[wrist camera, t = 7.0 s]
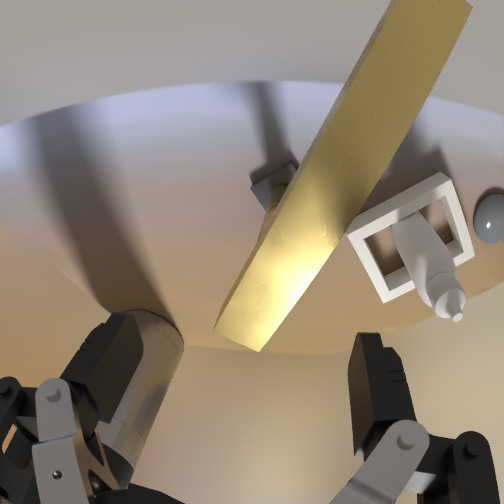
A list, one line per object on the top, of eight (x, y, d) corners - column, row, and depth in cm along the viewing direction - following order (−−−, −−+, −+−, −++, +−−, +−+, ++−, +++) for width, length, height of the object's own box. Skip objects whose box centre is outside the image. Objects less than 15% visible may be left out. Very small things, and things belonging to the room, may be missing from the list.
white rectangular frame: (378, 288, 30) (383, 303, 27) (343, 222, 27) (347, 235, 25) (464, 243, 26) (474, 255, 24) (439, 171, 23) (451, 179, 21)
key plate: (277, 221, 28) (276, 226, 27) (252, 184, 27) (250, 188, 26) (316, 200, 26) (317, 204, 26) (291, 160, 25) (291, 163, 24)
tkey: (357, 29, 18) (416, -34, 6) (386, 46, 18) (472, 6, 6) (254, 219, 27) (212, 331, 15) (280, 232, 27) (258, 352, 15)
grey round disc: (479, 248, 26) (481, 251, 25) (467, 206, 24) (470, 209, 24) (514, 226, 24) (517, 229, 23) (505, 184, 22) (508, 186, 22)
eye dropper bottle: (436, 207, 25) (500, 280, 14) (422, 261, 28) (467, 349, 17) (393, 201, 25) (443, 276, 15) (381, 258, 28) (414, 350, 18)
